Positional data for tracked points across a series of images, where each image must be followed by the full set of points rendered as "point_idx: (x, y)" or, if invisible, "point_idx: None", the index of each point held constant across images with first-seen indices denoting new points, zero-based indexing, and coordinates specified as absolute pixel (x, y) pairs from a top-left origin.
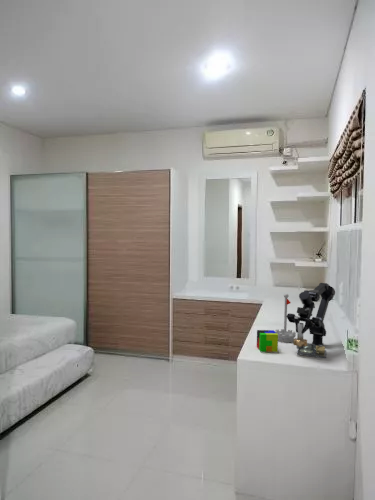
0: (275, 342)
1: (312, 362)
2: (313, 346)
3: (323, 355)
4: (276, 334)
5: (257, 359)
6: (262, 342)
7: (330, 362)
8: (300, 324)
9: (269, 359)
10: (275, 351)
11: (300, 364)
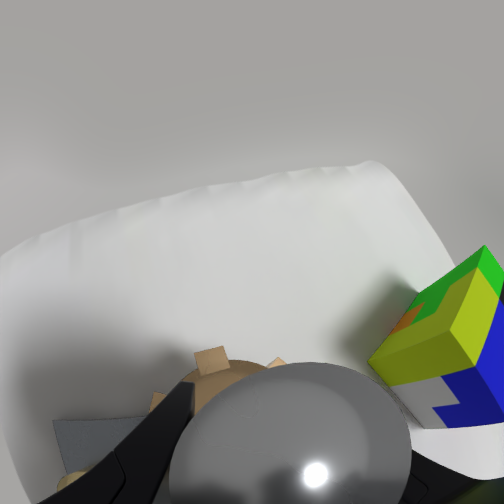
0: (414, 335)
1: (106, 292)
2: None
3: (67, 435)
4: (458, 326)
5: (355, 185)
6: (448, 276)
7: (26, 348)
8: (260, 375)
9: (323, 208)
10: (376, 351)
11: (161, 221)
